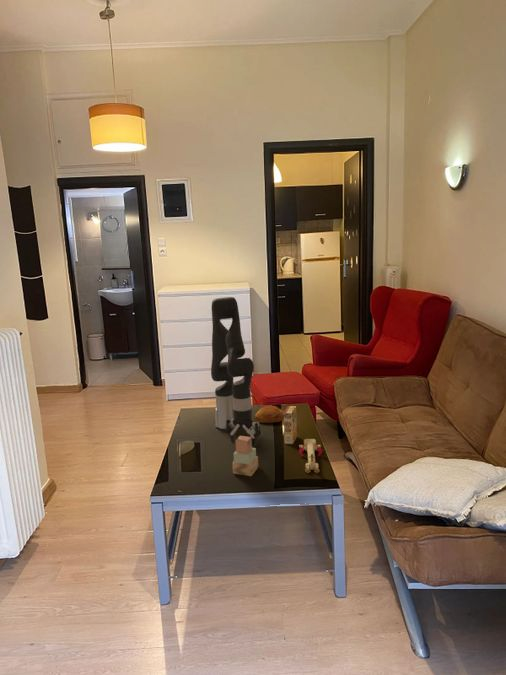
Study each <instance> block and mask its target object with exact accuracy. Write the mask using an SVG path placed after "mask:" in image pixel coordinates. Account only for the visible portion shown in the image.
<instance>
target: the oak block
mask: <svg viewBox="0 0 506 675" xmlns="http://www.w3.org/2000/svg"><path fill="white" fill-rule="evenodd" d="M231 463H232V474H234V475H241V476H247V477H252V476H253V475H254V473H255V472H256V471H257V470H258V468H259V456H257V455H256V458H255V459H254V460H253V462H252V463H251V464H250V465H248V464H241V463H234V460H233V461H232V462H231Z"/></svg>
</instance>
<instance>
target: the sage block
mask: <svg viewBox="0 0 506 675" xmlns="http://www.w3.org/2000/svg"><path fill="white" fill-rule="evenodd" d="M256 456H257V448H256V447H252V449H251V450H250V451H249V453H248V454H247V453H239V452H236V450H235V451H234V452H233V461H234V463H241V464H248V465H250V464H251V463H252V462H253V460H254V459H255V458H256Z"/></svg>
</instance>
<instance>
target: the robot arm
mask: <svg viewBox="0 0 506 675" xmlns="http://www.w3.org/2000/svg"><path fill="white" fill-rule="evenodd" d="M230 319H231V321H232V322H231V324H230V327H229V328H227V327H225V325H224V324H223V323H222V321H221V320H230ZM211 320H212V321H211V322H212V333H211V353H212V355H211V358H212V359H211V367H210V375H211V379H212V381H214V382H224V383H222V384H221V385H218V386H217V387H216V388H215V390H214V391H215V392H214V394H215V408H214V421H215V422H214V425H215V428H218V429H219V430H225V431H226V432H225V433H227V434H229V435H230V441H231V443H232V444H233V445H236V440H237V434H236V433H237V431H238V432H243V433H244V432H245V433H247V434H248V435H249V437H251V443H252V448H255V446H256V445H257V438H259V437H260V436H261V434H262V432H261V423H260V422H259V421H257V420H256V421H253V414H252V413H253V411H252V409H253V408H252V407H253V406H252V405H253V404H252V399H251V398H252V397H251V382H252V377H253V374H254V370H255V369H254V368H255V364H254V361H253V360H252V359H251V358H249V357H244V355H245V354H246V349H245V344H244V340H243V336H242V330H241V321H240V313H239V305H238V301H237V299H236V297H232V296H229V297H228V296H227V297H226V296H225V297H219V298H215V299H212V302H211ZM226 357H227V361H223V360H224V359H225V358H226ZM243 357H244V358H243ZM239 377H242V378H241V379H240V380H236V381H234V378H239Z"/></svg>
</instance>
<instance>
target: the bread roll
mask: <svg viewBox="0 0 506 675" xmlns="http://www.w3.org/2000/svg"><path fill="white" fill-rule="evenodd" d="M284 411H285V410H282V409H280V408H279V407H278V406H275V405H267V406H262V407H260V408H259V410H258V411H257V412H256V413H255V414H254V419H255V420H256V422H257V421H259V422H260V424H263V423H267V424H268V423H271V424H272V423H279V422H282V421H284Z"/></svg>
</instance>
